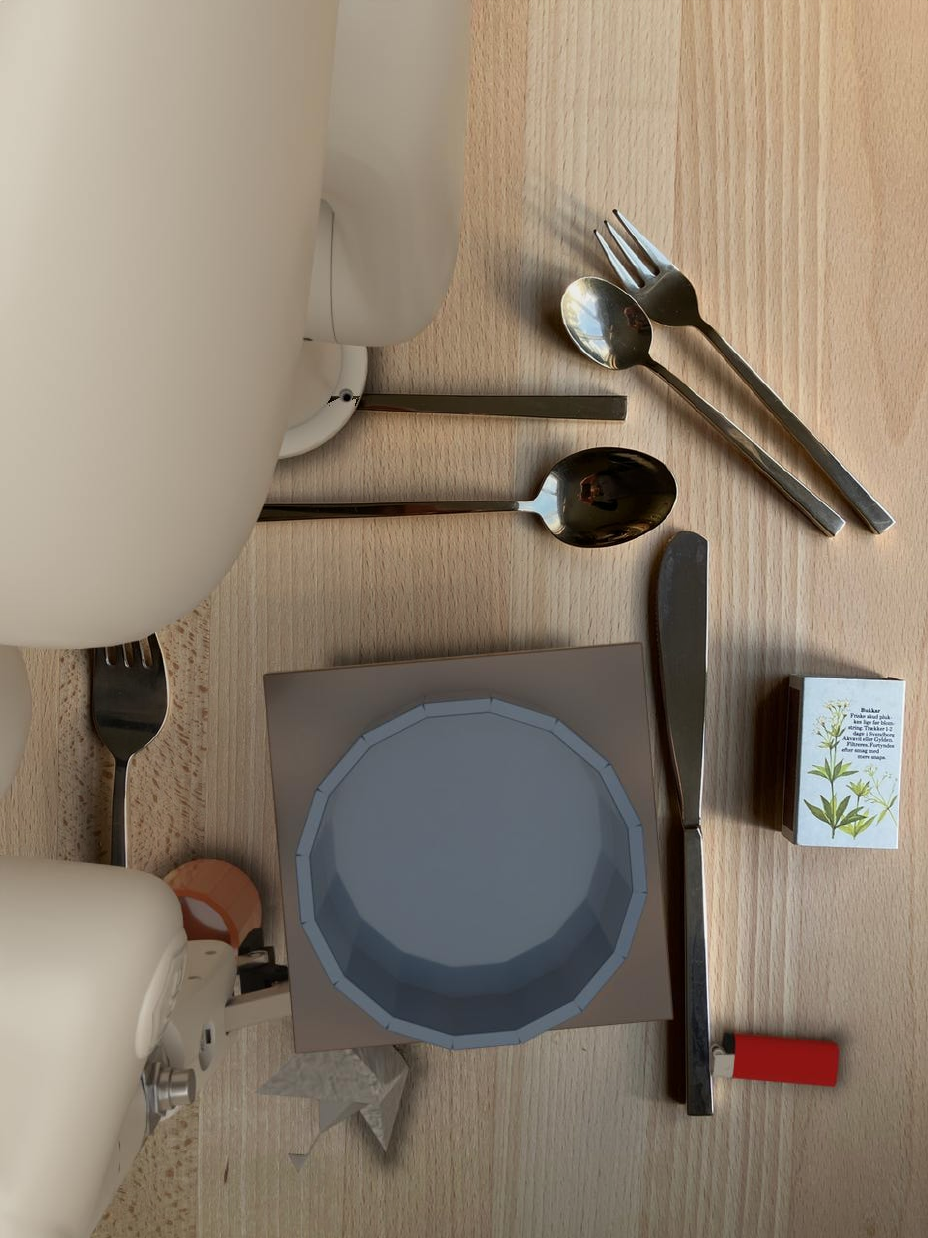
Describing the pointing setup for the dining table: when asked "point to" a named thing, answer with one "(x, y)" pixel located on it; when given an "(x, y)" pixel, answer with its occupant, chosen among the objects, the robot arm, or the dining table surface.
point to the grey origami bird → (345, 1087)
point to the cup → (216, 901)
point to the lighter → (775, 1059)
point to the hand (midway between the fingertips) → (174, 962)
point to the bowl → (471, 871)
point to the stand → (358, 694)
